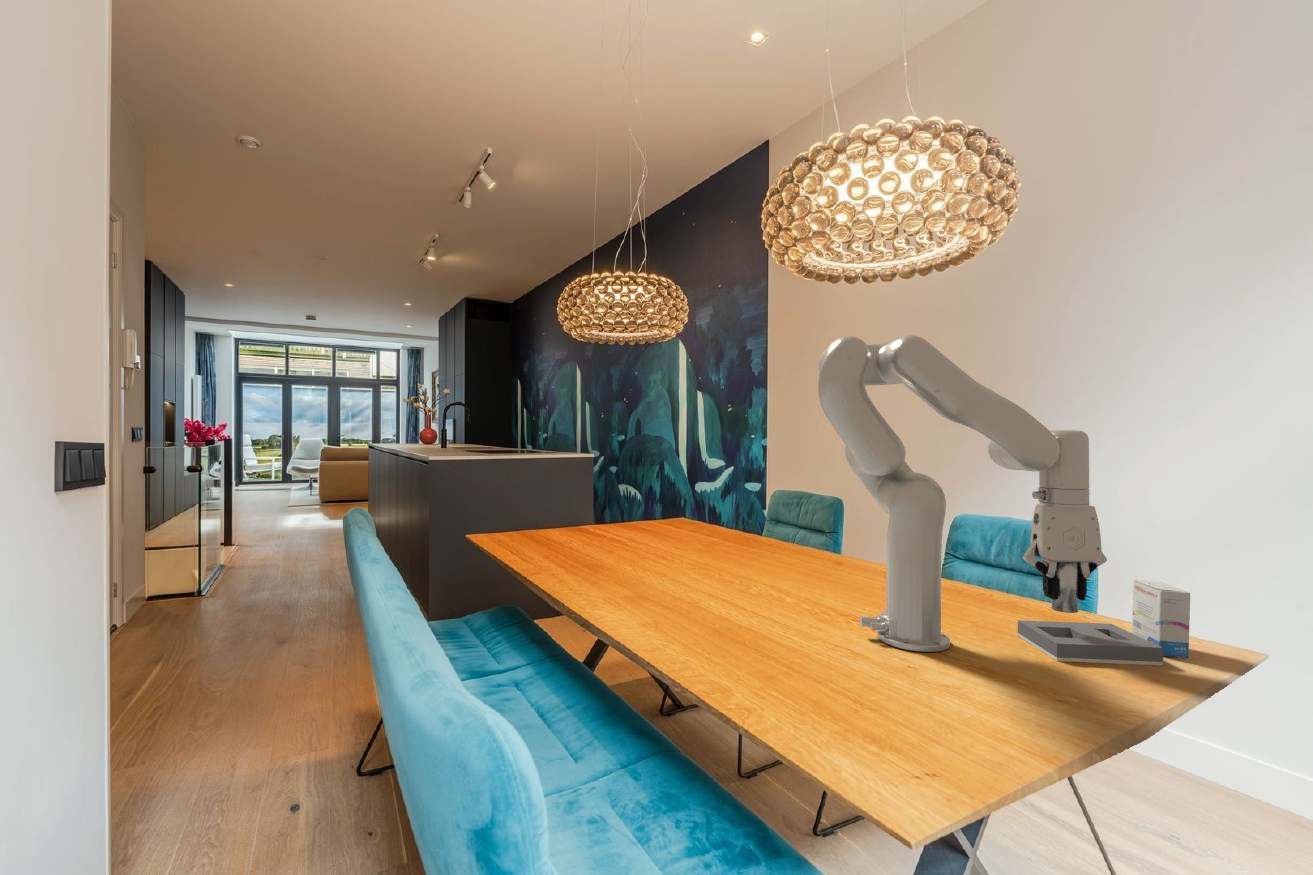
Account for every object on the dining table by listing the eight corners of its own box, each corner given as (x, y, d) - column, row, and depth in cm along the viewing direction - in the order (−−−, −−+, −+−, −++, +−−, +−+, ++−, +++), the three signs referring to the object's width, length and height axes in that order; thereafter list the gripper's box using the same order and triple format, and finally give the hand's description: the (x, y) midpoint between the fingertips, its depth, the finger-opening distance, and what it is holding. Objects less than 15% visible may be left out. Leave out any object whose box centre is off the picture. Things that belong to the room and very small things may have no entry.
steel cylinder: (1059, 612, 105) (1059, 540, 106) (1046, 606, 109) (1046, 536, 110) (1083, 613, 105) (1082, 540, 105) (1069, 606, 109) (1069, 536, 109)
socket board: (1056, 660, 101) (1057, 643, 101) (1017, 635, 114) (1017, 620, 114) (1162, 665, 100) (1163, 647, 100) (1111, 639, 113) (1111, 623, 113)
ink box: (1191, 658, 103) (1192, 591, 103) (1158, 656, 104) (1159, 589, 104) (1160, 642, 111) (1161, 579, 111) (1130, 640, 112) (1130, 578, 112)
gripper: (1026, 499, 104) (1027, 602, 104) (1127, 500, 103) (1128, 604, 103) (1005, 495, 112) (1006, 591, 112) (1099, 496, 110) (1099, 593, 110)
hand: (1064, 596), depth 107 cm, fingers closed on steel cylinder, 4 cm apart
